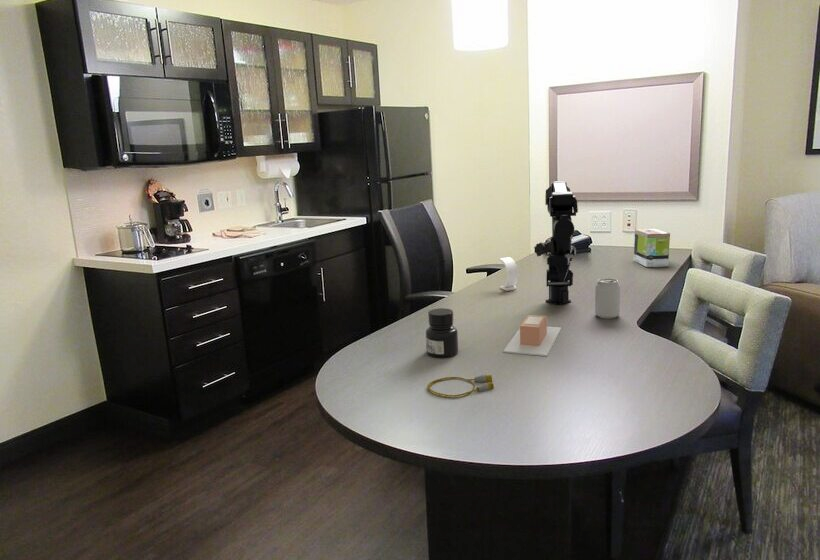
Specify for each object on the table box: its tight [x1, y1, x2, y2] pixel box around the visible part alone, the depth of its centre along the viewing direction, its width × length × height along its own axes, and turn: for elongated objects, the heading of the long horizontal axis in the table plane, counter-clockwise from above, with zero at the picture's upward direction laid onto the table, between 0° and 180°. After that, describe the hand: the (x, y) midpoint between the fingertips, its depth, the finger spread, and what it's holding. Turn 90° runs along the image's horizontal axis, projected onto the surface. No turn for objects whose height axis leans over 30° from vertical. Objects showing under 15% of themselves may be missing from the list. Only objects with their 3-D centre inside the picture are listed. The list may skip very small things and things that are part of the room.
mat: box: [502, 326, 562, 357], centre depth 167 cm, size 24×12×1 cm, turn 157°
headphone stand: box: [498, 256, 519, 292], centre depth 224 cm, size 5×6×12 cm
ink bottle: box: [425, 307, 459, 359], centre depth 160 cm, size 10×9×12 cm
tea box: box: [633, 228, 671, 268], centre depth 253 cm, size 15×10×15 cm, turn 179°
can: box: [594, 277, 621, 320], centre depth 184 cm, size 8×8×12 cm
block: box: [519, 314, 548, 346], centre depth 166 cm, size 6×6×11 cm
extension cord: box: [427, 374, 495, 399], centre depth 137 cm, size 12×16×2 cm
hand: (561, 281), depth 184 cm, fingers closed
